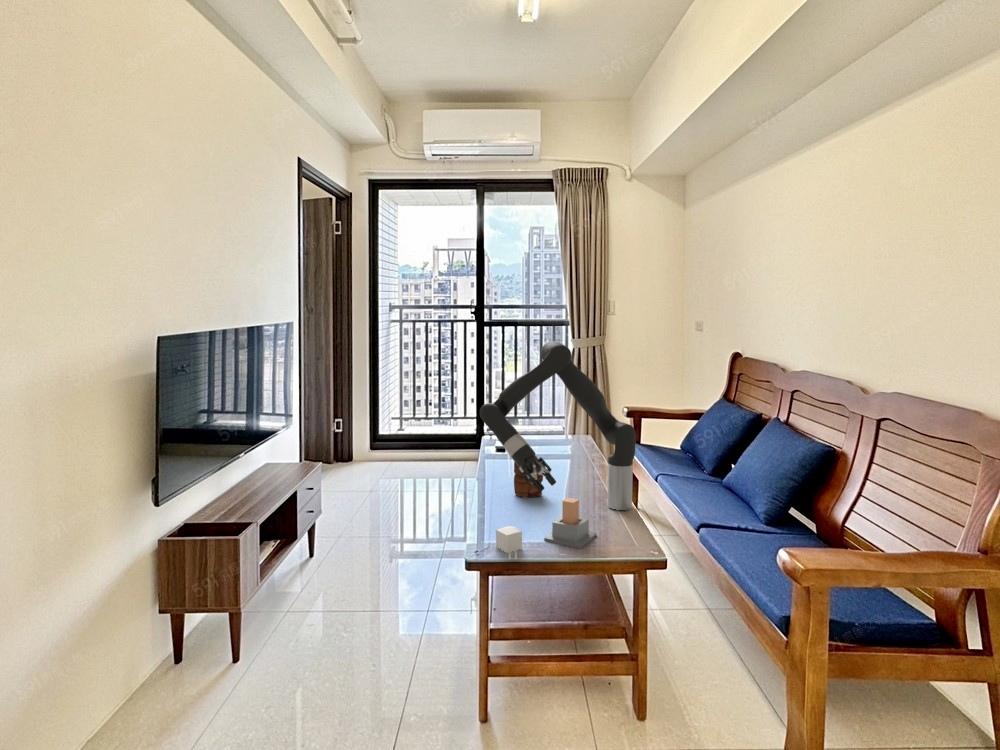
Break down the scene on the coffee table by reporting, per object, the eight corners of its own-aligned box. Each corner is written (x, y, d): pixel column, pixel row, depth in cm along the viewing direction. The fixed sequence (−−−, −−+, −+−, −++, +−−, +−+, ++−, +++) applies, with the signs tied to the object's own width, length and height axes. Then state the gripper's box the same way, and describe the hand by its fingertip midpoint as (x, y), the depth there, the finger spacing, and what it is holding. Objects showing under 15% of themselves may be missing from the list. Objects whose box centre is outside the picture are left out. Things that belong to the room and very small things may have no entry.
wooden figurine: (515, 498, 234) (515, 455, 232) (513, 493, 240) (513, 451, 238) (544, 497, 235) (544, 454, 233) (541, 492, 241) (541, 450, 239)
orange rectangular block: (562, 535, 191) (562, 500, 189) (567, 532, 194) (567, 497, 193) (573, 538, 188) (573, 502, 187) (578, 534, 192) (578, 499, 190)
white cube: (511, 543, 188) (510, 525, 187) (522, 549, 183) (522, 531, 182) (496, 547, 184) (495, 529, 183) (507, 553, 179) (506, 535, 179)
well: (544, 540, 189) (544, 523, 189) (562, 528, 200) (562, 511, 199) (580, 548, 182) (580, 530, 182) (596, 535, 193) (596, 518, 192)
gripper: (515, 447, 191) (545, 486, 186) (535, 439, 203) (564, 475, 198) (501, 460, 195) (531, 499, 190) (523, 452, 207) (551, 488, 202)
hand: (548, 487), depth 194 cm, fingers open, 8 cm apart
